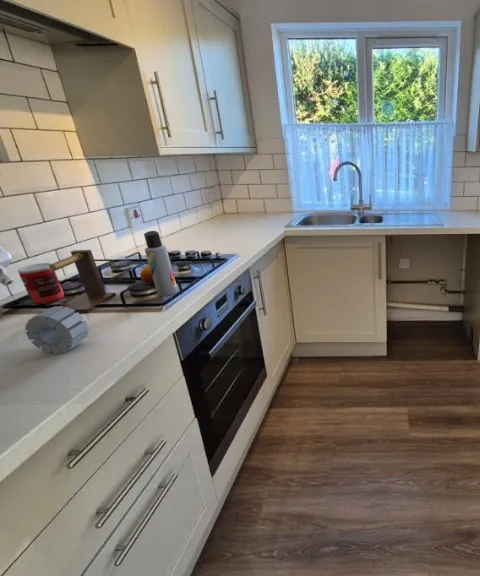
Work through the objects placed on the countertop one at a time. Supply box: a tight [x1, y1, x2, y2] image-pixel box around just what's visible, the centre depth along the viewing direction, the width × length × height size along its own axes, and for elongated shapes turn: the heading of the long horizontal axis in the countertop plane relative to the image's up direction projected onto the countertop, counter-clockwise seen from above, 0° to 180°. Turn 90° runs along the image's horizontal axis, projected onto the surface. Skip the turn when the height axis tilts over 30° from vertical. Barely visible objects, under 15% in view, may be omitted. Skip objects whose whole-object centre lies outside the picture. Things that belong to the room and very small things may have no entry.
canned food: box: [17, 262, 65, 306], centre depth 111 cm, size 8×8×11 cm
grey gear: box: [24, 305, 90, 355], centre depth 84 cm, size 10×5×10 cm, turn 91°
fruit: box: [139, 263, 155, 285], centre depth 124 cm, size 8×8×8 cm
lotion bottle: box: [143, 230, 178, 297], centre depth 112 cm, size 6×6×20 cm
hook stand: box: [49, 249, 117, 314], centre depth 106 cm, size 10×12×16 cm
